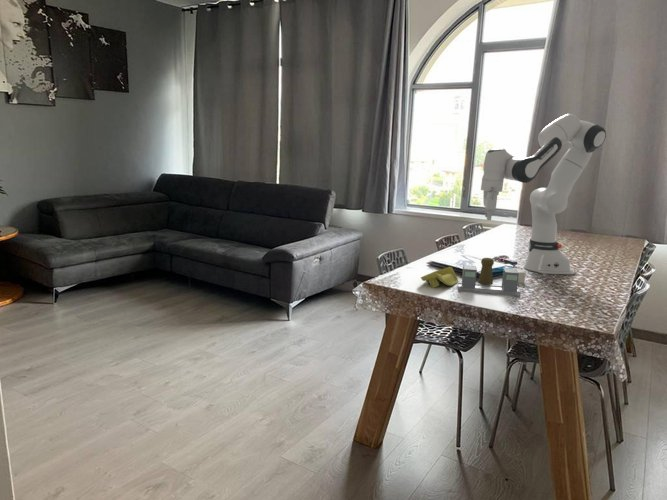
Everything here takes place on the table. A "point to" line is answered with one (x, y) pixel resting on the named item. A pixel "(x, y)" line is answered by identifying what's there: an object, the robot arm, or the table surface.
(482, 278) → the cork
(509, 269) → the block
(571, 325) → the table surface
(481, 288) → the rail
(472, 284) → the block
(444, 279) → the plastic component
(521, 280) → the beige block
